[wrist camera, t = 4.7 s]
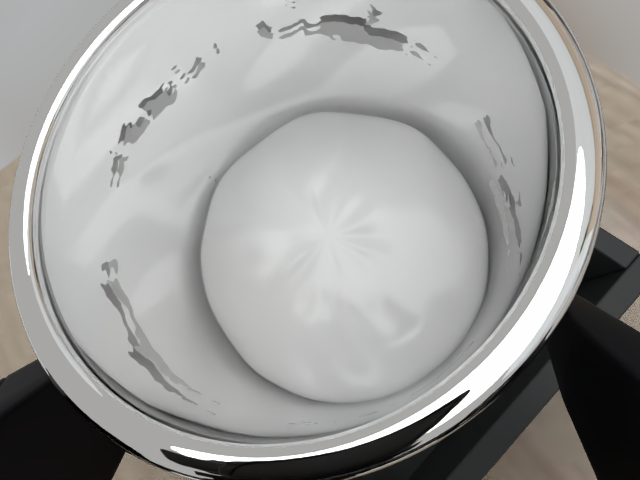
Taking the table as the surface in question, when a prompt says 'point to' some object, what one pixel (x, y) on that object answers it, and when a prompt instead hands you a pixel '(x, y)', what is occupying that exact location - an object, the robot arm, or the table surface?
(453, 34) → the metal tumbler
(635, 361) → the robot arm
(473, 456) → the bin
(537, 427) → the table surface
